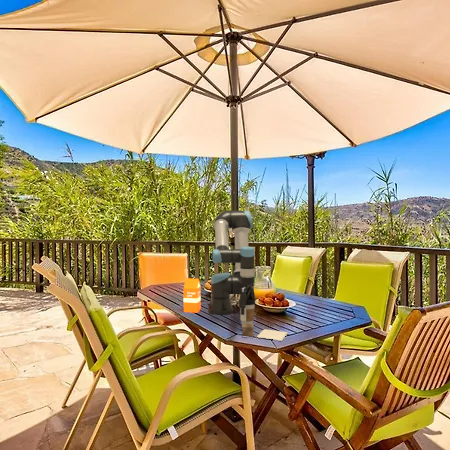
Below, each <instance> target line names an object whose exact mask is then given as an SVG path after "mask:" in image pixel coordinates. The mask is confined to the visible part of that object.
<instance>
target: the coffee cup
mask: <svg viewBox="0 0 450 450" xmlns="http://www.w3.org/2000/svg"><path fill="white" fill-rule="evenodd" d="M255 304H256V299H255V300H254V298H253V297H247V302H246V307H245V308H246V321H241V320H240V322H241V327H242V328H243V324H254V320H255V319H254V317H255V309H256V308H255V306H256V305H255ZM242 306H243V305H242ZM239 310H240V313H241V308H239Z"/></svg>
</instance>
